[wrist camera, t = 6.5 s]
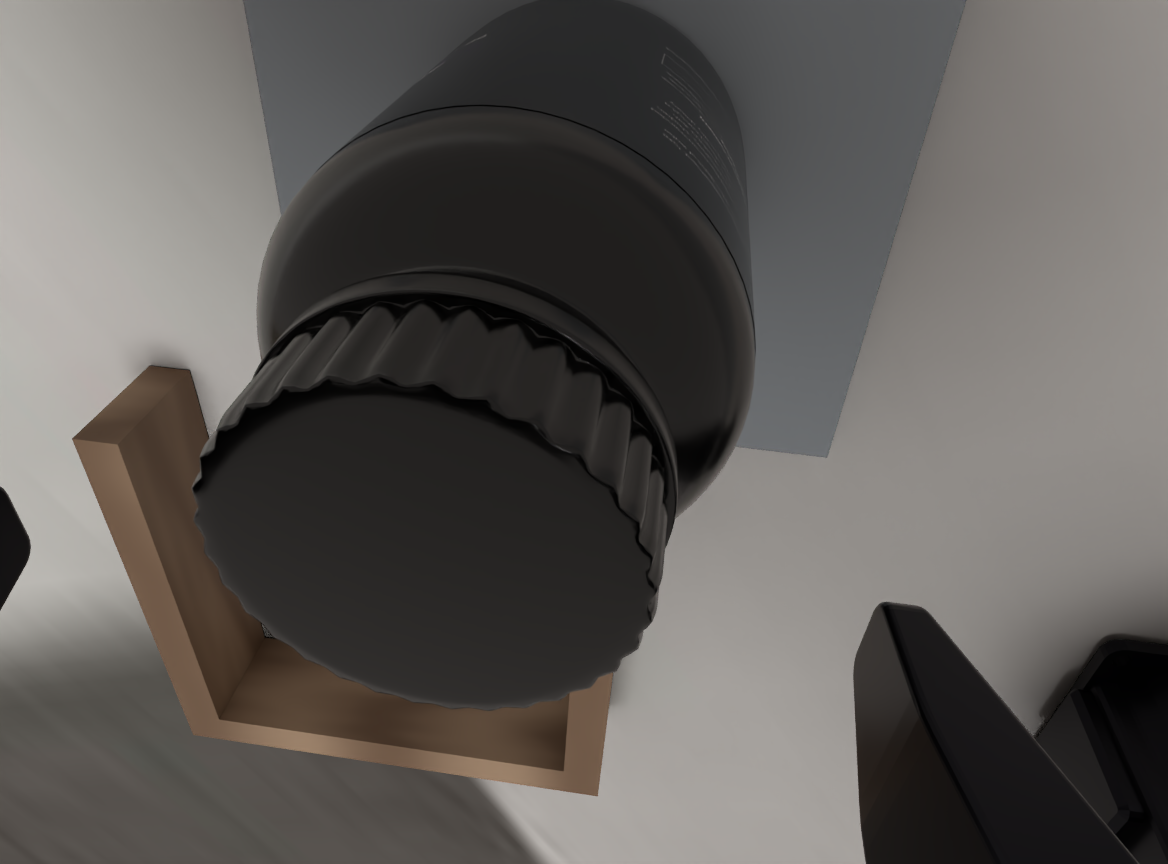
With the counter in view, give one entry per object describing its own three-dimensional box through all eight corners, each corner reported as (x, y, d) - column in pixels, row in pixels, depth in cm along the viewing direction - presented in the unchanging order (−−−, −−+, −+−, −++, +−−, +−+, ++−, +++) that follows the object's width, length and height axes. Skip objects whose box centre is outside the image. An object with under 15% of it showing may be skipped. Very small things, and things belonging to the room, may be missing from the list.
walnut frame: (643, 425, 22) (633, 510, 19) (608, 706, 30) (597, 796, 27) (149, 365, 23) (72, 438, 20) (240, 653, 31) (193, 734, 28)
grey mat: (1023, -225, 13) (1035, -228, 13) (824, 443, 22) (827, 457, 21) (211, -277, 14) (193, -280, 14) (321, 383, 23) (313, 395, 22)
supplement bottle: (413, -19, 16) (-51, 209, 6) (767, -3, 15) (857, 277, 6) (442, 298, 20) (191, 728, 10) (722, 320, 19) (729, 800, 10)
